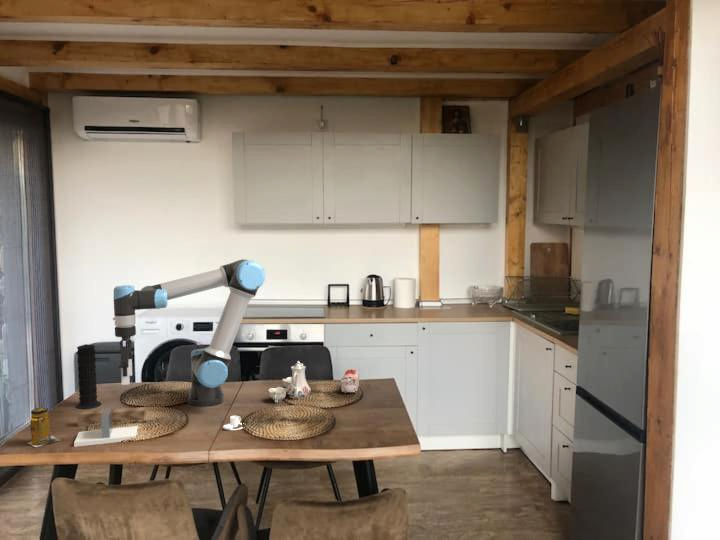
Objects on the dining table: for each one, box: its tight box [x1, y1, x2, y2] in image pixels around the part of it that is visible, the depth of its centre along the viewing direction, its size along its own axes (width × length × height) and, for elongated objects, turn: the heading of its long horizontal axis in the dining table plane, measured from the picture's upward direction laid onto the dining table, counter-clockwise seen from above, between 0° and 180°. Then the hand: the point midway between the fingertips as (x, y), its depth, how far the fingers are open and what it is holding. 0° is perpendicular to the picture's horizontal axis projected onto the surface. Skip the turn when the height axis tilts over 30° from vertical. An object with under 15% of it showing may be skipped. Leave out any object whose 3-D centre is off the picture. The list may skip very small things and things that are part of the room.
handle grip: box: [75, 343, 102, 410], centre depth 246 cm, size 10×26×10 cm
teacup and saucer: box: [222, 415, 244, 431], centre depth 220 cm, size 9×8×4 cm
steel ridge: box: [100, 407, 113, 439], centre depth 209 cm, size 2×9×8 cm, turn 18°
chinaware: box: [267, 360, 312, 404], centre depth 259 cm, size 28×17×17 cm, turn 172°
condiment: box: [27, 407, 60, 448], centre depth 205 cm, size 7×8×12 cm
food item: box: [340, 368, 360, 393], centre depth 267 cm, size 14×8×10 cm, turn 176°
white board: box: [73, 425, 139, 448], centre depth 209 cm, size 20×11×2 cm, turn 107°
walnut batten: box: [76, 406, 147, 428], centre depth 225 cm, size 24×4×5 cm, turn 102°
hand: (127, 379), depth 226 cm, fingers open, 13 cm apart
